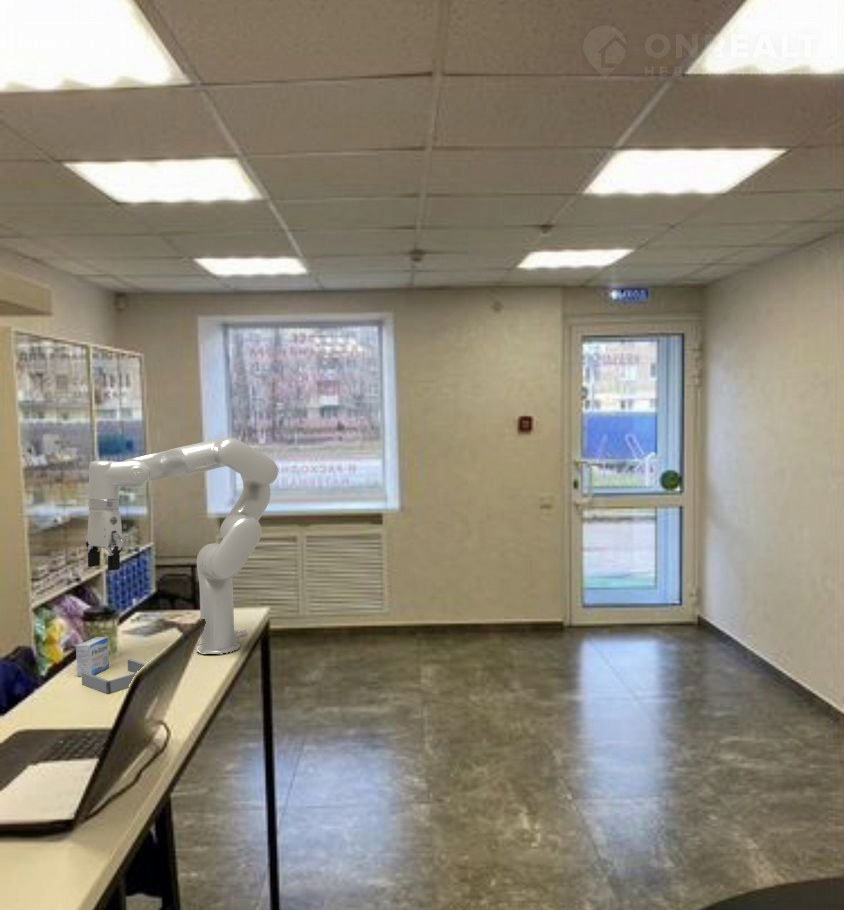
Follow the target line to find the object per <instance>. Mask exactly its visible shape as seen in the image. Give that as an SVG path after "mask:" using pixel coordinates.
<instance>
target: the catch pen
mask: <svg viewBox="0 0 844 910" xmlns="http://www.w3.org/2000/svg"><path fill="white" fill-rule="evenodd" d="M145 664H146V663H144V662H141V661H138V660H134V659H131V658H128V659H127V671H128V672H131V673H129V674H127V675H126V674H125V675H124V676H120V677H117V678H113V679H111V680H108V679H105V678H103V677H100V676H97V675H95V676H94V675H92V674H89V673H86V672H83V673H82V677H81V684H82V685H83V686H86V687H88V688H91V689H94V690H95V691H97V692H98V691H99V692H101V693H104V694H106V695H110V694H112V693H116V692H120V691H122V690H125V689H128V686H129V684H130V683H131V681H132V679H133V677H134V676H135V674H136V673H137V671H139V670H140V669H141V668H142V667H143V666H144V665H145Z"/></svg>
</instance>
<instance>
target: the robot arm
mask: <svg viewBox="0 0 844 910" xmlns="http://www.w3.org/2000/svg"><path fill="white" fill-rule="evenodd" d="M224 467H228V468H229V469H231V470H233V471H234V472H236V473H238V474H240V477H241V480H242V484H243V489H242V492H241V495H240V496H239V498H238V500H237V502H236V503H235V504H234V505H233V507H232V509H231V510H230V511H229V513H228V514H227V516H226V517H225V518H224V520H223V521H222V523H221V525H220V529H219V532H220V533H219V534H220V535H221V538H222V540H221V541H220V543H217V542H216V543H215V542H213V543H209V544H206V545H204V546H203V547H202V548H201V549H200V550H199V552H198V553H197V556H196V557H197V558H196V570H197V576H198V583H199V584H198V585H199V604H200V605H199V609H200V610H199V611H200V612H199V613H200V620H201V619H205V621H206V624H205V627H204V631H203V633H202V636H201V635H200V637H201V640H200V641H201V643H200V644H199V645H201V646H200V647H199V648H198V650H199V651H200V652H201V653H206V654H220V655H224V654H223V653H226V654H229V653H228V652H230V653H233V652H235V651H234V650H236V651H237V649H238V648H239V647H240V648H241V642H240V641H238V640H240V638H245V637H247V636H248V631H247V630H246V629H244V630H240V631H239V630H235V615H234V614H235V613H234V608H235V607H234V586H233V585H234V584H233V578H234V577H235V576H237V574H238V573H240V571H241V570H242V568H243V567H244V565H245V564H246V562H247V561H248V559H249V557H250V556H251V555H252V554H253V552H254V551H255V549H256V547H257V546H258V544H259V542H260V540H261V537H262V525H261V524H260V519H261V517H262V516H263V514H264V513H265V511H266V509H267V507H268V505H269V503H270V498H271V484H272V483H274V482H275V481H276V479H277V477H278V476H279V469H278V465H277V464H276V462H275V461H274V459H271V457H269V456H268V455H266V454H264V453H262V452H260V451H258V450H256V449H255V448H254V447H252V446H250V445H248V444H246V443H245V442H243V441H242V440H240V439H238V438H234V437H221V438H220V437H219V438H216V439H211V440H210V439H209V440H206V441H202V442H198V443H194V444H189V445H184V446H180V447H175V448H171V449H168V450H164V451H160V452H156V453H151V454H146V455H142V456H138V457H137V456H136V457H132V458H129V459H125V460H122V461H115V460H93V461H91V462H90V463H89V466H88V512H89V513H88V521H87V533H86V534H85V535H84V541H85V546H86V547H87V548H86V552H87V567H88V568H91V567H92V568H93V567H98V566H100V564H101V551H100V548H103V549H106V550H107V553H108V555H107V571H117V570H120V567H121V566H120V565H121V561H120V560H121V555H122V550H123V545H124V542H125V540H124V538H123V528H122V519H121V517H122V516H121V512H120V510H119V509H120V487H129V488H130V487H131V488H138V487H142V486H143V485H145V484H147V483H148V482H149V481H153V480H154V481H155V480H158V479H164V478H172V477H173V478H174V477H179V478H180V477H187V476H191V475H194V474H199V473H203V472H207V471H211V470H216V469H218V468H224ZM240 648H239V649H240ZM239 649H238V650H239ZM232 651H233V652H232Z"/></svg>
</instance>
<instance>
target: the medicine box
mask: <svg viewBox="0 0 844 910" xmlns="http://www.w3.org/2000/svg"><path fill="white" fill-rule="evenodd" d="M109 650H110V649H109V638H108V637H106V636H105V637H103V636H96V637H95V636H94V637H92V638H90V639H88V640H86V641H84V642H80V643H78V644H77V645H75V652H76V653H75V654H76V655H75V656H76V657H75V658H76V674H77V675H76V676H77V677H81V676H82V673H83V672H86V673H89V674H92V675H95V676H97V675H99V674H100V673H102V672H104V671H106V670H107V668H108V669H109V668H110V653H109ZM105 669H106V670H105ZM103 670H104V671H103ZM101 671H102V672H101Z"/></svg>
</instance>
